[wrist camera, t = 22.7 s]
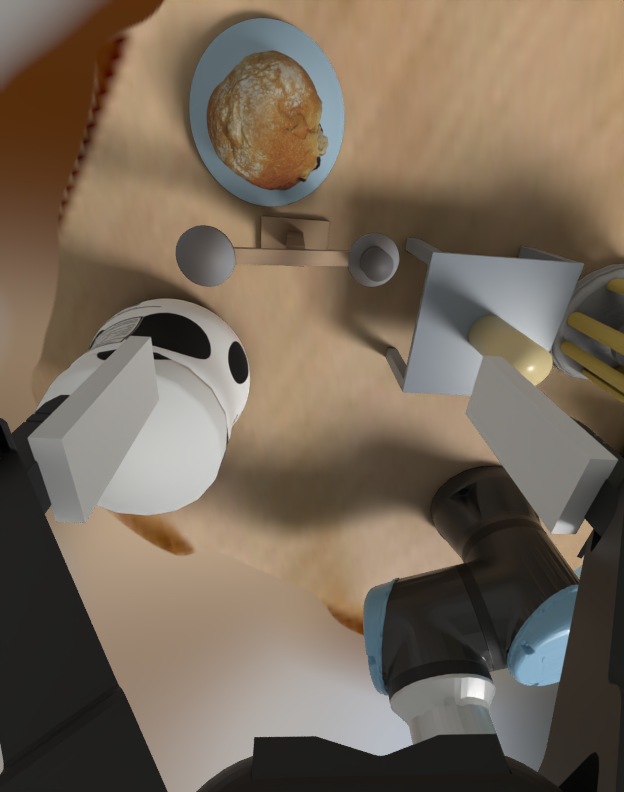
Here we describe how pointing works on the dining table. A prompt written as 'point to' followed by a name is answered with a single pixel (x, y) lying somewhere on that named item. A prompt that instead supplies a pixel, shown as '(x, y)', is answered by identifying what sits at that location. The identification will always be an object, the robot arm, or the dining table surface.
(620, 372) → the lantern
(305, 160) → the bread roll
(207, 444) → the milk container
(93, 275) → the dining table surface
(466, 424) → the dining table surface
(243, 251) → the balance
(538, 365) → the cover frame
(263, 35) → the plate
